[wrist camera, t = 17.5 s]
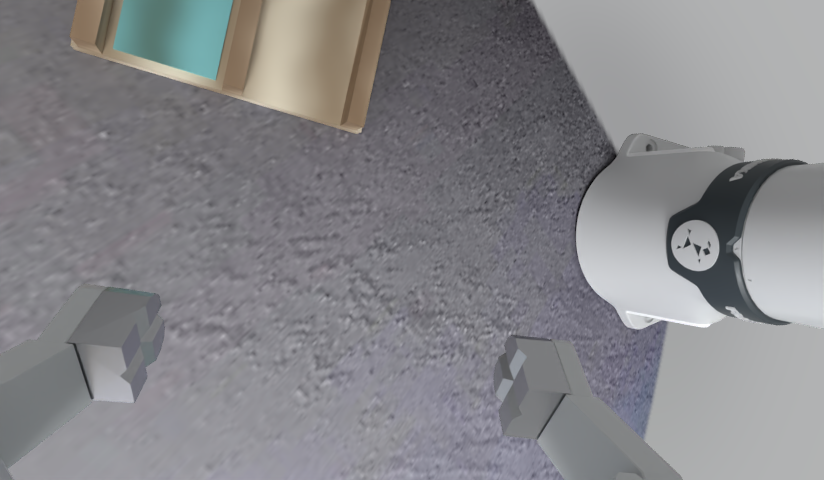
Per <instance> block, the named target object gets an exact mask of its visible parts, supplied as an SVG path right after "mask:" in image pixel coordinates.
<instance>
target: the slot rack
mask: <svg viewBox="0 0 824 480" xmlns="http://www.w3.org/2000/svg"><path fill="white" fill-rule="evenodd" d="M390 3H391V0H78V1H77V6H76V10H75V15H74V19H73V24H72V28H71V33H70V38H71V39H72V41H71V46H72V47H73V48H74V49H75V50H77V51H80V52H84V53H87V54H90V55H94V56H97V57H100V58H104V59H107V60H111V61H114V62H117V63H121V64H124V65H127V66H131V67H134V68H137V69H141V70H144V71H147V72H151V73H154V74H157V75H161V76H164V77H168V78H171V79H174V80H178V81H181V82H184V83H188V84H191V85H194V86H198V87H201V88H204V89H208V90H211V91H214V92H218V93H221V94H225V95H228V96H231V97H235V98H238V99H241V100H245V101H248V102H251V103H255V104H258V105H261V106H265V107H268V108H271V109H275V110H278V111H282V112H285V113H288V114H292V115H295V116H298V117H302V118H305V119H308V120H312V121H315V122H318V123H322V124H325V125H328V126H332V127H335V128H339V129H342V130H345V131H349V132H352V133H355V134H358V133H360V132H361V130H362V127H364V124H365V119H366V114H367V110H368V105H369V100H370V96H371V91H372V86H373V82H374V77H375V72H376V68H377V63H378V58H379V54H380V49H381V44H382V40H383V35H384V30H385V26H386V21H387V17H388V12H389V7H390Z"/></svg>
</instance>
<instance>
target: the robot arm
mask: <svg viewBox="0 0 824 480" xmlns="http://www.w3.org/2000/svg"><path fill="white" fill-rule="evenodd" d="M744 156H745V151H744V149H743V148H736V147H723V146H708V147H698V148H689V147H686V146H683V145H679V144H676V143H673V142H669V141H666V140H662V139H659V138H656V137H652V136H649V135H645V134H631V135H630V136H628V137H627V138H626V140H625V141H624V143H623V145H622V147H621V149H620V151H619V153H618V155H617V157H616V159H615V160H614V161H613V162H612V163H611V164H610V165H609V166H608V167H607V168H605V169H604V170H603V171H602V172H601V173H600V174H599V175H598V176H597V177H596V179H595V180H594V181H593V183H592V184H591V186H590V187H589V189H588V191H587V192H586V195H585V197H584V199H583V202H582V204H581V207H580V211H579V215H578V220H577V227H576V246H577V254H578V259H579V263H580V266H581V269H582V271H583V274H584V276H585V278H586V280H587V281H588V283H589V284H590V286H591V287H592V288H593V290H594V291H595V292H596V293H597V294H598V295H599V296H601V297H602V298H603V299H605V300H606V301H607V302H609V303H610V304H611V305H613V306H614V307H615V308H616V310H617V312H618V314H619V316H620V318H621V320H622V321H623V323H624V324H625V325H626V326H627V327H628V328H633V329H642V328H645V327H647V326H649V325H652V324H654V323H656V322H658V321H661V320H665V321H671V322H676V323H681V324H686V325H692V326H697V327H709V326H710V324H711V323H715V322H718V321H720V320H722V319H723V318H725V317H726V316H731V317H736V318H740V319H741V320H744V321H748V322H753V323H758V324H764V323H765V324H773V325H787V324H790V323H797V324H802V325H807V326H811V327H816V328H821V329H824V163H818V164H807V163H805V162H802V161H799V160H793V159H792V160H791V159H790V160H782V159H762V160H757V161H752V162H744ZM160 307H161V301H160V296H159V295H158V294H156V293H149V292H142V291H135V290H128V289H121V288H114V287H104V286H97V285H90V284H83V285H81V286H80V287H78V288H77V289H76V290H75V291H74V292H73V294H72V295H71V296H70V298H69V299H68V300H67V302H66V303H65V304H64V305H63V307H62V308H61V309H60V311H59V312H58V313H57V314H56V316H55V317H54V318H53V320H52V321H51V322H50V324H49V325H48V326H47V327H46V329H45V330H44V331H43V333H42V334H41V335H40V336H39V338H38V339H37V340H27V341H25V342H23V343H21V344H19V345H17V346H15V347H13V348H11V349H10V350H8V351H6V352H4V353H2V354H0V480H14V479H13V477H12V476H11V474H10V472H9V471H8V468H9V467H11V466H12V465H13V464H15V463H16V462H17V461H18V460H20V459H21V458H22V457H23V456H25V455H26V454H27V453H29V452H30V451H31V450H32V449H34V448H35V447H36V446H38V445H39V444H40V443H41V442H43V441H44V440H45V439H46V438H48V437H49V436H50V435H52V434H53V433H54V432H55V431H57V430H58V429H59V428H61V427H62V426H63V425H64V424H66V423H67V422H68V421H69V420H71V419H72V418H73V417H75V416H76V415H77V414H78V413H80V412H81V411H82V410H83V409H85V408H86V407H87V406H89V405H90V404H91V403H92V401H108V402H124V403H135V401H136V399H137V397H138V395H139V393H140V391H141V389H142V387H143V385H144V383H145V381H146V379H147V372H146V367H147V366H148V365H150V364H151V363H153V362H154V361H156V359H157V357H158V355H159V353H160V350H161V347H162V343H163V339H164V330H165V326H164V320H163V319H162V318H161V317H160V316H159V315H158V314H157V313H158V311H159V309H160ZM504 346H505V350H506V353H505V354H503V355H501V356H500V357H499V358H498V360H497V363H496V365H495V370H494V389H495V395H496V396H497V397H498V398H499V399H500V400H501V401H502V405H501V407H500V409H499V416H500V421H501V426H502V431H503V436H510V437H519V438H528V439H536V440H537V442H538V444H539V445H540V447H541V448H542V449H543V451H544V452H545V453H546V455H547V456H548V458H549V459H550V460H551V462H552V463H553V464H554V466H555V467H556V469H557V470H558V471H559V473H560V474H561V475H562V477H563V478H564V480H682V477H681V476H680V475H679V474H678V473H677V472H676V471H675V470H674V469H673V468H672V467H671V466H670V465H669V464H668V463H667V462H666V461H665V460H663V458H662V457H660V456H659V455H658V454H657V453H656V452H655V451H654V450H653V449H652V448H651V447H650V446H649V445H648V444H647V443H646V442H645V441H644V440H643V439H642V438H641V437H640V436H639V435H637V434H636V433H635V432H634V431H633V430H632V429H631V428H630V427H629V426H628V425H627V424H626V423H625V422H624V421H623V420H622V419H621V418H620V417H619V416H618V415H617V414H616V413H614V412H613V411H612V410H611V409H610V408H609V407H608V406H607V405H606V404H605V403H604V402H603V401H602V400H601V399H600V398H596V397H593V395H592V392H591V389H590V387H589V384H588V382H587V379H586V376H585V374H584V371H583V369H582V366H581V363H580V361H579V358H578V356H577V353H576V350H575V348H574V345H573V344H572V343H571V342H570V341H563V340H554V339H550V340H549V339H545V338H536V337H526V336H517V335H511V336H510V337H508V339H507V341H506V343H505V345H504ZM91 400H92V401H91Z"/></svg>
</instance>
